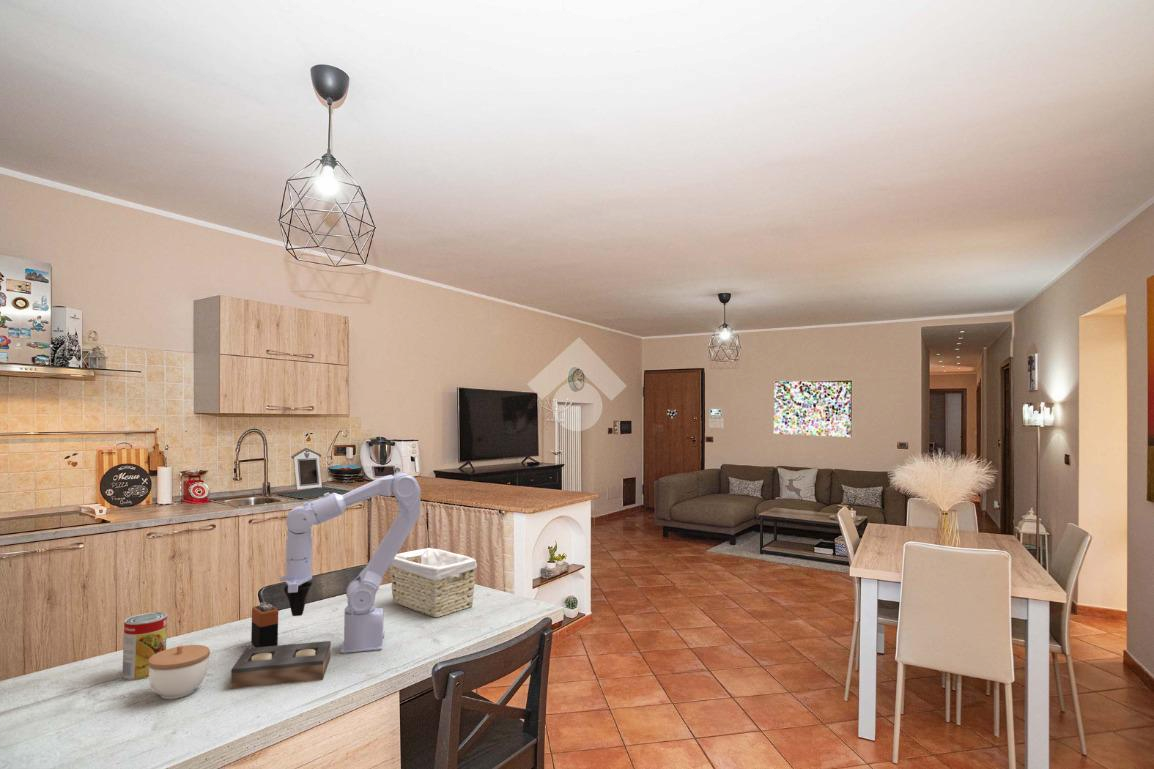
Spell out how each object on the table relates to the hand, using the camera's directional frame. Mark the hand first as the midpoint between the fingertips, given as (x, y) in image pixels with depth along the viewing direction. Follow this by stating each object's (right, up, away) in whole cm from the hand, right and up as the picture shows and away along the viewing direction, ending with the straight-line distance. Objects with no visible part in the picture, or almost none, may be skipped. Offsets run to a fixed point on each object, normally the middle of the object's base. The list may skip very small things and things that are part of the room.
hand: (297, 615), depth 147 cm
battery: (-11, -10, +6) cm, 16 cm away
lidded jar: (-15, -9, -20) cm, 27 cm away
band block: (+2, -9, -10) cm, 14 cm away
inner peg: (+6, -9, -9) cm, 14 cm away
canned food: (-29, -9, -10) cm, 33 cm away
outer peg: (-3, -9, -12) cm, 15 cm away
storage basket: (+23, -12, +38) cm, 46 cm away
